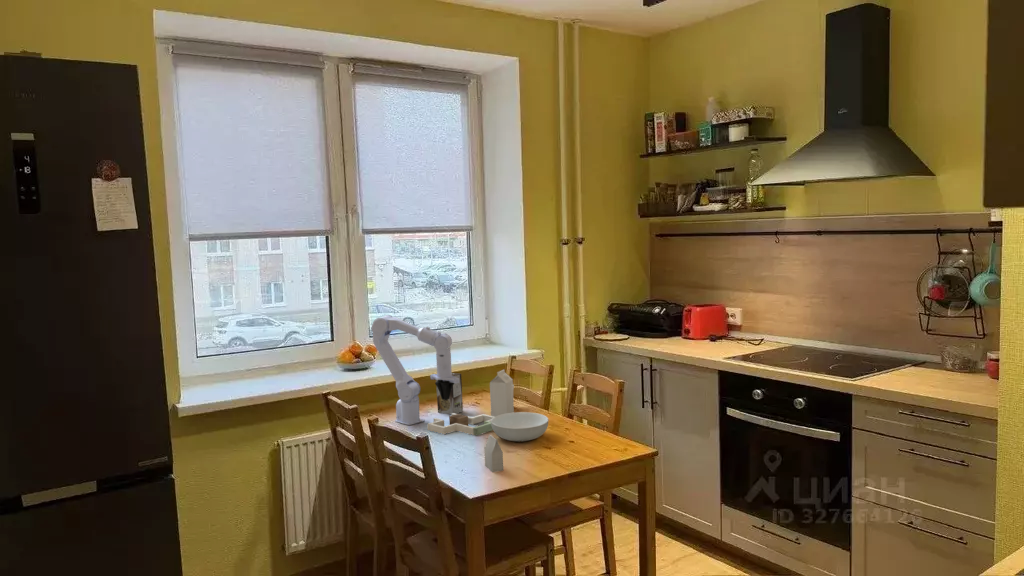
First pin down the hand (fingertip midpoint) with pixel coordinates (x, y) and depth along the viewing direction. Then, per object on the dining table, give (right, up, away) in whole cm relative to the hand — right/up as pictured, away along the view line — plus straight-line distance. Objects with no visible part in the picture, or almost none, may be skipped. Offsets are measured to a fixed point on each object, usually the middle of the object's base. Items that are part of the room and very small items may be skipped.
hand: (445, 399), depth 280 cm
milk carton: (+23, -8, +6) cm, 25 cm away
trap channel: (+8, -10, -7) cm, 14 cm away
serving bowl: (+29, -11, -23) cm, 39 cm away
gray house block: (+21, -13, -55) cm, 60 cm away
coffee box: (0, -8, +17) cm, 19 cm away
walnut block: (+6, -10, -4) cm, 12 cm away
